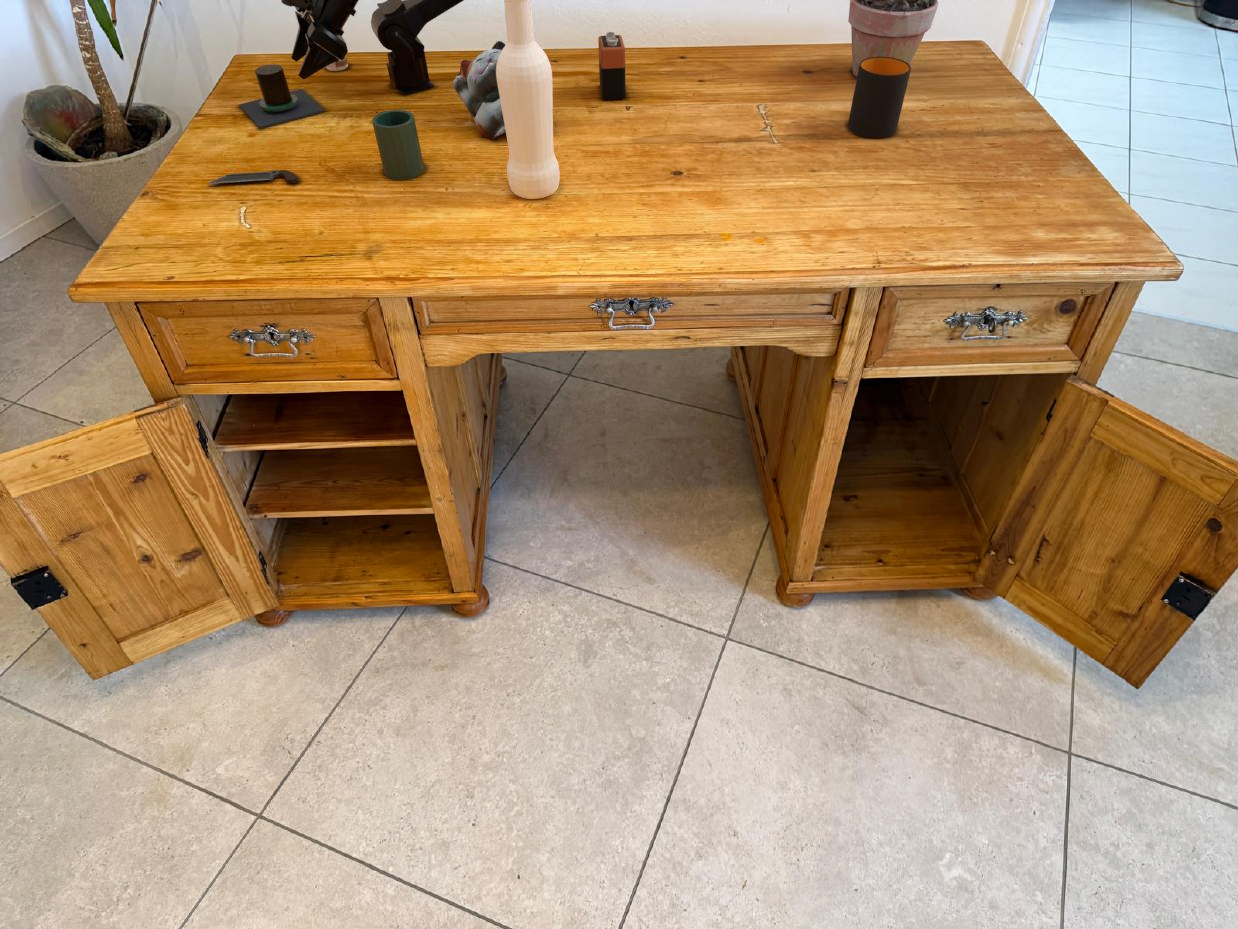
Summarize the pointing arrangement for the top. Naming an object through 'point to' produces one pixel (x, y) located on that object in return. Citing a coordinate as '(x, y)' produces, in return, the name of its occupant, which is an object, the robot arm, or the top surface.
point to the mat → (269, 118)
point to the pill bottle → (338, 65)
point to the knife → (256, 177)
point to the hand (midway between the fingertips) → (297, 68)
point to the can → (398, 144)
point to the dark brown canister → (274, 89)
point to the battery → (612, 66)
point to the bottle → (527, 106)
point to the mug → (878, 97)
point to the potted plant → (888, 28)
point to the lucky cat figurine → (482, 91)
